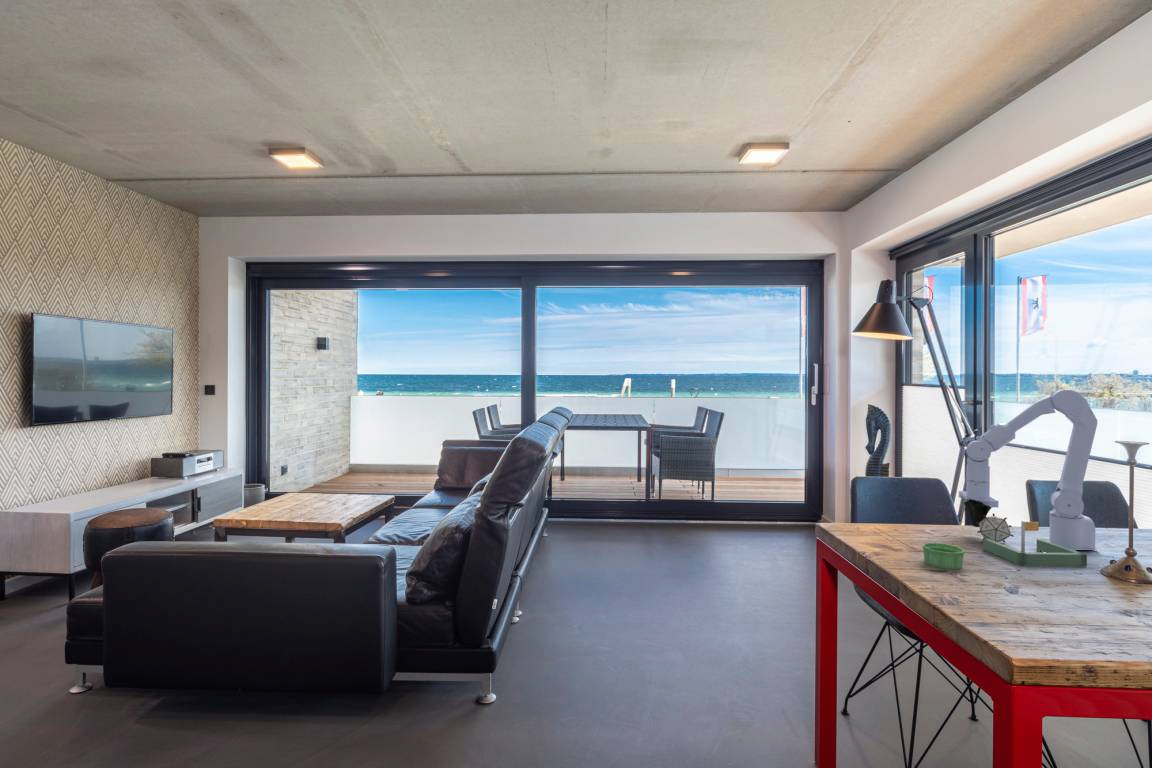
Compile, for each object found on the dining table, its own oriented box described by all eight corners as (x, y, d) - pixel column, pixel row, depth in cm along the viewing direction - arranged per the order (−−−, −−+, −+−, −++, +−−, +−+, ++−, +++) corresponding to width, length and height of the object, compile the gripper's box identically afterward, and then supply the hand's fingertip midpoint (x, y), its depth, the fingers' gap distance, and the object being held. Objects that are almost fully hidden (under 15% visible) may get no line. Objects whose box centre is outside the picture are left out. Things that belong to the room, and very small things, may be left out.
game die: (1003, 557, 163) (1028, 534, 158) (974, 546, 163) (999, 522, 158) (990, 534, 171) (1014, 512, 165) (963, 524, 171) (986, 501, 166)
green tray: (1042, 550, 157) (1042, 510, 157) (1086, 566, 143) (1087, 522, 143) (983, 549, 158) (983, 509, 158) (1022, 566, 144) (1022, 522, 144)
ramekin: (971, 571, 140) (971, 553, 140) (930, 569, 141) (930, 551, 141) (954, 560, 148) (955, 543, 148) (916, 558, 150) (916, 541, 150)
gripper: (949, 476, 179) (948, 520, 179) (981, 485, 164) (980, 532, 164) (971, 477, 179) (971, 520, 179) (1006, 485, 164) (1005, 532, 164)
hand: (977, 526), depth 172 cm, fingers closed
